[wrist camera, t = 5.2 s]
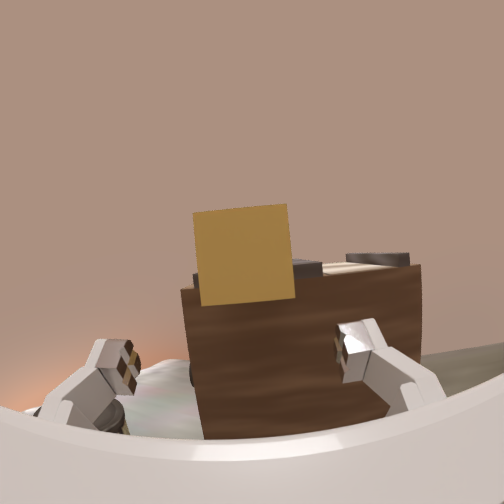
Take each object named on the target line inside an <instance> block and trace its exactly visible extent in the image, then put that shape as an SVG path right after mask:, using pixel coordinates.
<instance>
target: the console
mask: <svg viewBox="0 0 504 504" xmlns="http://www.w3.org/2000/svg"><path fill="white" fill-rule="evenodd" d="M292 264H293V276H294V288H295V298H290V299H281V300H271V301H260V302H249V303H237V304H225V305H212V306H201V297H200V288H199V278H198V273H195V274H193V282H194V283H193V284H191V285H189V286H187V287H185V288H183V289H181V298H182V307H183V314H184V323H185V330H186V337H187V343H188V351H189V358H190V368H189V374H190V381H191V384H192V386H193V387H194V388H195V394H196V399H197V405H198V410H199V415H200V420H201V425H202V430H203V435H204V440H228V439H251V438H266V437H277V436H286V435H295V434H303V433H310V432H317V431H323V430H329V429H334V428H340V427H345V426H350V425H355V424H359V423H364V422H368V421H372V420H377V419H380V418H384V417H385V416H386V414H387V412H388V411H389V409H390V407H391V406H390V405H389V404H388V403H387V402H385V401H384V400H383V399H382V398H381V397H380V396H379V395H378V394H377V393H375V392H374V391H373V390H372V389H371V388H370V387H369V386H368V385H367V384H365V383H364V382H363V380H361V381H355V382H349V383H342V380H341V377H340V374H339V365H340V364H339V363H337V362H336V360H335V356H334V347H333V344H334V339H335V338H336V337H337V336H336V333H335V327H336V325H337V324H340V323H347V322H353V321H359V320H364V319H370V318H373V319H375V321H376V323H377V325H378V327H379V329H380V331H381V333H382V335H383V337H384V339H385V342H386V344H387V346H388V347H393V348H395V349H396V350H398V351H399V352H401V353H403V354H404V355H406V356H407V357H409V358H410V359H412V360H414V361H415V362H417V363H418V364H420V359H421V339H422V338H421V337H422V282H421V265H420V264H410V257H409V253H349V254H346V262H336V263H327V264H322V262H317V261H309V260H302V259H292Z"/></svg>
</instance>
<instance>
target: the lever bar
mask: <svg viewBox="0 0 504 504" xmlns="http://www.w3.org/2000/svg"><path fill="white" fill-rule="evenodd" d="M193 222H194V234H195V246H196V257H197V268H198V278H199V288H200V297H201V306H212V305H225V304H237V303H249V302H260V301H271V300H281V299H290V298H295V288H294V276H293V264H292V253H291V243H290V233H289V223H288V213H287V204H277V205H265V206H254V207H244V208H233V209H224V210H214V211H206V212H196V213H193Z"/></svg>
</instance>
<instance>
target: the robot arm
mask: <svg viewBox="0 0 504 504" xmlns="http://www.w3.org/2000/svg"><path fill="white" fill-rule="evenodd" d="M335 333H336V336H337V337H336V338H335V339H334V344H333V347H334V356H335V360H336V362H337V363H339V364H340V365H339V374H340V377H341V380H342V383H349V382H355V381H361V380H363V382H364V383H365V384H367V385H368V386H369V387H370V388H371V389H372V390H373V391H374V392H375V393H377V394H378V395H379V396H380V397H381V398H382V399H383V400H384V401H385V402H387V403H388V404H389V405H390V406H391V407H390V409H389V411H388V412H387V414H386V416H385V417H384V418H380V419H377V420H372V421H368V422H364V423H359V424H355V425H350V426H345V427H340V428H334V429H329V430H323V431H317V432H310V433H303V434H295V435H286V436H277V437H266V438H251V439H228V440H190V439H167V438H153V437H142V436H132V435H124V434H116V433H109V432H103V431H99V430H98V429H97V428H96V427H95V426H94V425H93V424H92V423H93V422H94V421H95V420H96V419H97V417H98V416H99V415H100V414H101V413H102V412H103V411H104V409H105V408H106V407H107V406H108V405H109V404H110V403H111V401H112V400H113V399H114V398H115V397H116V395H132V396H134V393H135V389H136V385H137V382H136V380H135V378H136V377H137V376H138V375H139V374H140V370H141V362H140V358H139V356H138V353H136V352H135V351H133V344H132V342H131V340H121V339H98V340H96V342H95V343H94V346H93V348H92V350H91V352H90V355H89V357H88V359H87V362H86V364H85V366H84V367H81V368H80V369H78V370H77V371H76V372H75V373H73V374H72V375H71V376H70V377H68V378H67V379H66V380H65V381H64V382H62V383H61V384H60V385H59V386H58V387H56V388H55V389H54V390H53V391H51V392H50V393H49V394H48V395H47V396H46V398H45V400H44V403H43V405H42V407H41V410H40V412H39V415H38V417H35V416H31V415H28V414H24V413H21V412H18V411H15V410H11V409H9V408H5V407H3V406H0V504H504V373H503V374H501V375H499V376H497V377H495V378H493V379H490V380H488V381H486V382H484V383H482V384H479V385H477V386H475V387H473V388H470V389H468V390H465V391H463V392H460V393H458V394H455V395H453V396H450V397H448V398H446V395H445V393H444V391H443V389H442V387H441V385H440V383H439V381H438V379H437V377H436V375H435V374H434V373H433V372H431V371H429V370H428V369H426V368H425V367H423V366H421V365H420V364H418V363H417V362H415V361H414V360H412V359H410V358H409V357H407V356H406V355H404V354H403V353H401V352H399V351H398V350H396V349H395V348H393V347H388V346H387V344H386V342H385V339H384V337H383V335H382V333H381V331H380V329H379V327H378V325H377V323H376V321H375V319H373V318H370V319H364V320H359V321H353V322H347V323H340V324H337V325H336V327H335Z"/></svg>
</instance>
